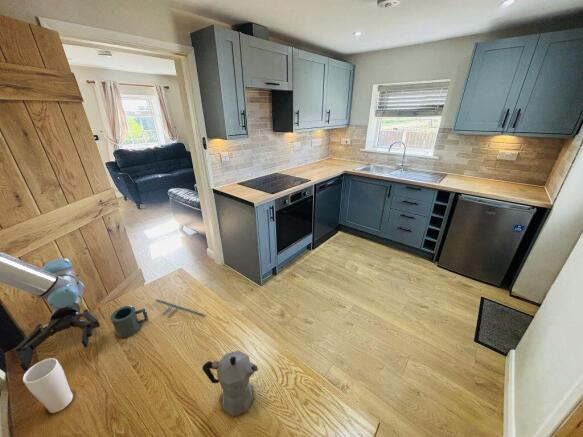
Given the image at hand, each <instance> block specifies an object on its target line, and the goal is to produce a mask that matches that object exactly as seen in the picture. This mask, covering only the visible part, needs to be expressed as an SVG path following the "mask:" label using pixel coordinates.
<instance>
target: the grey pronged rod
mask: <svg viewBox="0 0 583 437" xmlns="http://www.w3.org/2000/svg"><path fill="white" fill-rule="evenodd" d="M156 301H158V302H160V303H163V304H167V305H170V306H171V307H176V308H178V309H182V310H186V311H188V312H191V313H195V314H198V315H200V316H204V314H203V313H199V312H197V311H194V310H190V309H187V308H185V307H182V306H178V305H175V304H172V303H170V302H166V301H164V300H163V301H162V300H160V299H156ZM171 307H169V308H167V309H166V310H165V311H163V313H162V314H163V315H165V314H166V313H167V312H168V311H169V310H171ZM171 316H172V314H171V315H169V318H170V317H171Z"/></svg>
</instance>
